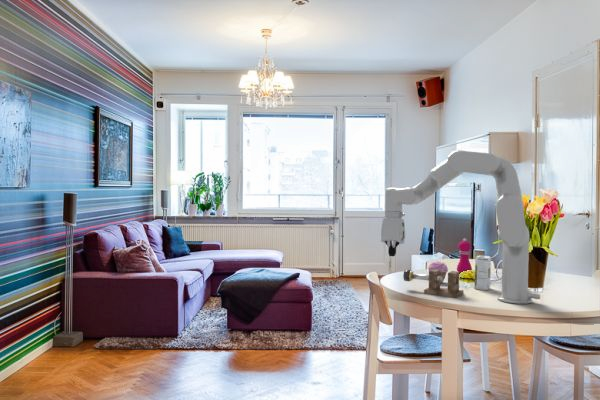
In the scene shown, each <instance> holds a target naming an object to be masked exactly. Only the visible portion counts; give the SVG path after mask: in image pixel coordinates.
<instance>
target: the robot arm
mask: <svg viewBox="0 0 600 400" xmlns="http://www.w3.org/2000/svg"><path fill="white" fill-rule="evenodd" d="M464 173H469V174H477V175H485V176H491V177H492V178H494V180H495V186H496V187H495V188H496V191H497V201H496V203H495V213H496V219H497V225H498V232H499V236H500V237H499V238H500V239H501V242H502V255H501V260H502V261H501V263H502V264H501V294H498V295H497V297H496V298H497V300H498V301H500V302H504V303H510V304H518V305H519V304H520V305H521V304H522V305H525V304H526V305H527V304H532V302H533V299H535V300H541V294H540V293H536V292H534V293H533V292H530V289H529V260H530V254H529V253H530V230H529V228H528V227H527V225H526V220H525V213H524V208H525V205H524V201H523V200H524V199H523V197H522V190H521V187H520V181H519V177H518V173H517V170H516V168H515V167H514V165H513V164H512V163H511V162H510V161H509V160H507V159H506V158H503V157H501V156H498V155H496V154H495V155H494V154H493V153H487V152H478V151H466V150H461V149H460V150H459V149H457V150H454V151H452V152H450V154H449V155H448V156H447V159H446V160H444V161H442V162H440V163H439V164H438V165H437V166H435V167H434V168H432V169H431V170H430V171H429V173H428V175H427V177H426V178H425V179H424V180H422V181H421V182H419V183H418V184H417V185H415V186H413V187H403V188H400V187H388V188H386V189H385V195H384V196H385V198H384V199H385V201H384V203H385V204H384V217H383V219H382V223H381V227H380V228H381V231H380V238H381V239H380V242H382V243H384V244H385V245H387V248H388V249H387V250H388V256H389V257H395V256H396V254H397V248H398V246H399V245H402V244H405V239H406V227H405V219H404V218H403V217H405V216H406V214H405V212H403V205H406V206H409V205H410V206H412V205H413V206H414V205H418V204H420V203H422V202H423V201H426V199H428V198H429V197H430V196H433V195H434V194H435V193H436V192H438V191H439V190H441V189H442V188H443V187H444V186H446V185H447V184H449V183H450V182H452V181H453V180H455V179H456V178H457V177H459V176H461V175H462V174H464Z"/></svg>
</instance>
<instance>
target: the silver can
mask: <svg viewBox="0 0 600 400" xmlns="http://www.w3.org/2000/svg"><path fill="white" fill-rule="evenodd" d="M491 265H492V257H491V256H489V255H477V256H475V265H474V289H475V290H481V291H488V290H489V289H490V288H491V274H492V272H491V270H492V267H491Z"/></svg>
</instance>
